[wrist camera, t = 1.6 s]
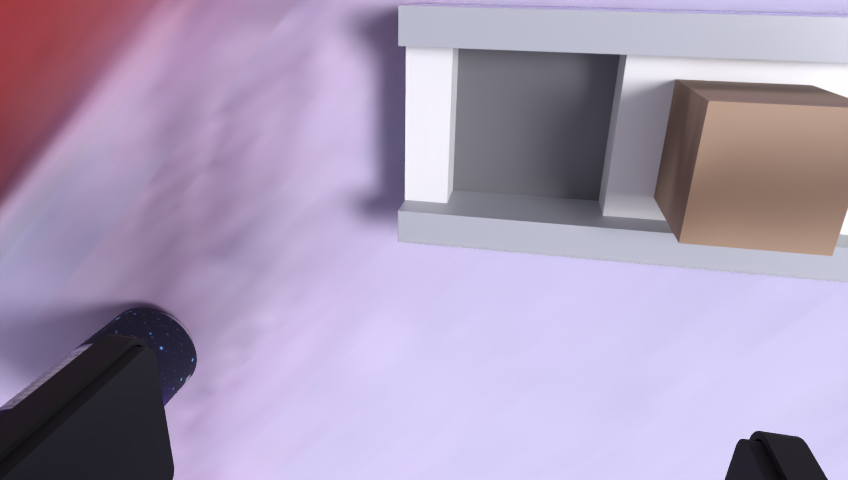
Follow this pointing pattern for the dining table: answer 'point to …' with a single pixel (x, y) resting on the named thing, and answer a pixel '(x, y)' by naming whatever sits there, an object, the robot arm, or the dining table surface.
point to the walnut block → (755, 166)
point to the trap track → (584, 124)
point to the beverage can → (159, 335)
